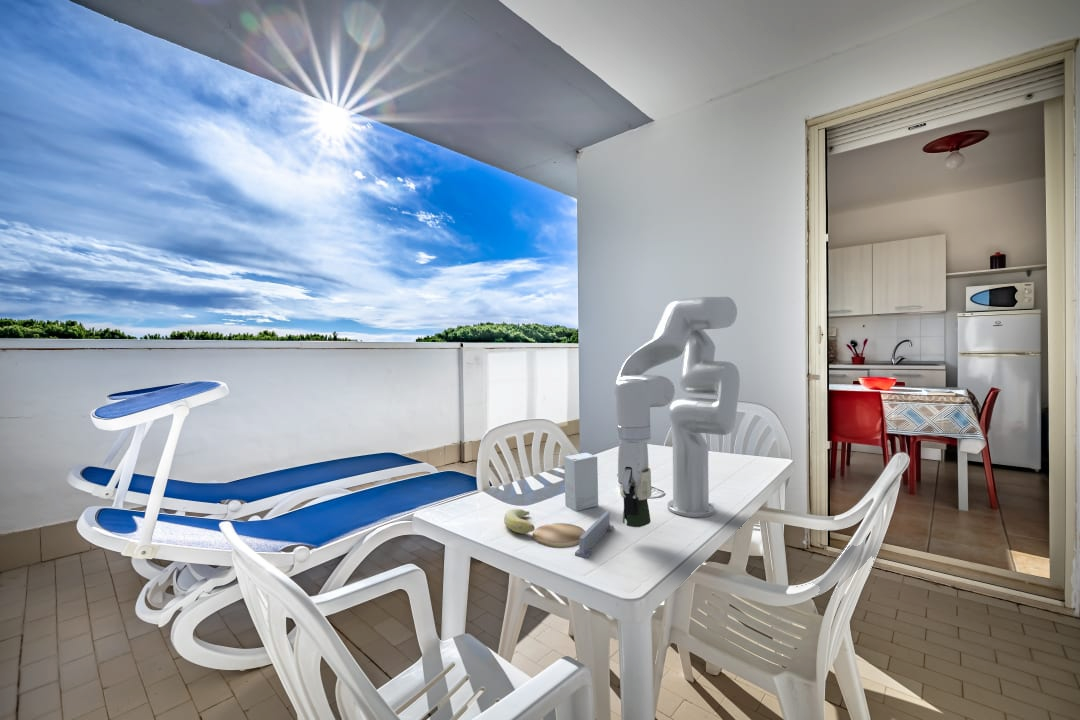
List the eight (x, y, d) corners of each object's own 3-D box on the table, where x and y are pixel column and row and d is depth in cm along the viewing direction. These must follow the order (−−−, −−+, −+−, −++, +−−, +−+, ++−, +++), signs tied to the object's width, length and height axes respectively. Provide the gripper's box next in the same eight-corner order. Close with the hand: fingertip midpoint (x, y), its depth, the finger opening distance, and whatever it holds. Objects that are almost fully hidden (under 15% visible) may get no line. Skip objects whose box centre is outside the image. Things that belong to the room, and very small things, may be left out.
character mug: (610, 519, 108) (608, 465, 108) (635, 513, 111) (633, 461, 111) (638, 536, 98) (636, 477, 98) (664, 529, 101) (662, 472, 101)
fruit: (505, 538, 108) (504, 525, 108) (503, 517, 123) (502, 505, 123) (535, 535, 109) (534, 521, 109) (529, 514, 124) (528, 502, 124)
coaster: (547, 522, 119) (547, 519, 119) (593, 530, 113) (593, 527, 113) (523, 541, 108) (523, 538, 108) (573, 551, 102) (573, 548, 102)
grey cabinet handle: (602, 526, 116) (602, 510, 116) (613, 528, 115) (613, 512, 115) (574, 555, 100) (574, 537, 100) (587, 557, 98) (587, 539, 98)
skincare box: (587, 500, 136) (586, 451, 136) (599, 506, 131) (598, 455, 130) (563, 505, 132) (563, 455, 132) (575, 512, 127) (574, 459, 126)
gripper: (628, 424, 113) (630, 494, 114) (605, 439, 98) (608, 520, 99) (658, 426, 110) (660, 497, 111) (640, 442, 94) (642, 525, 95)
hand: (636, 507), depth 105 cm, fingers closed on character mug, 7 cm apart
